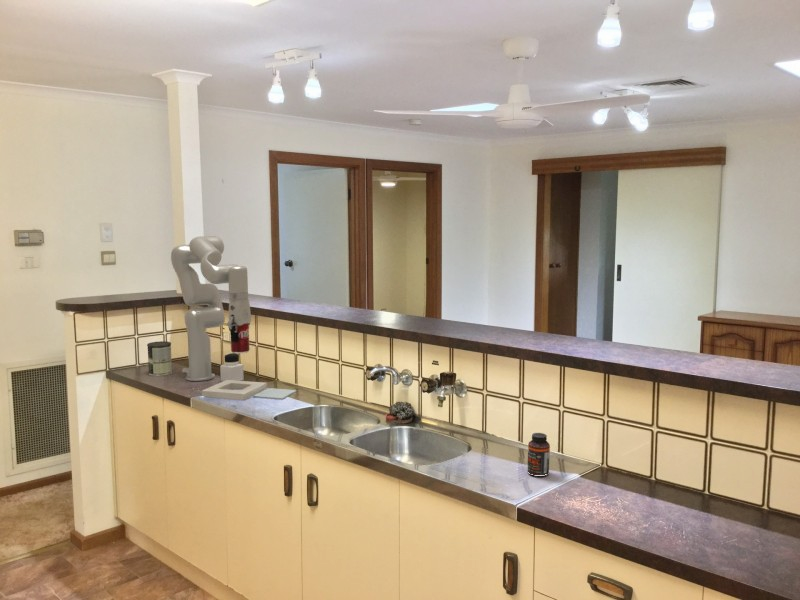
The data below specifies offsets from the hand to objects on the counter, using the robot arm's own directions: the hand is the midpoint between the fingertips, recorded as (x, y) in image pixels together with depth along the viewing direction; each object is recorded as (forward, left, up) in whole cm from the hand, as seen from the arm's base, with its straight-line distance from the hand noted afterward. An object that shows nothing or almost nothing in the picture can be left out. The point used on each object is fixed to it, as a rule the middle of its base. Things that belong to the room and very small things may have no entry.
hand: (240, 339), depth 274 cm
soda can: (0, 0, -5) cm, 5 cm away
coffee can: (-54, +21, -22) cm, 62 cm away
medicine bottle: (-15, +18, -22) cm, 32 cm away
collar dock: (-3, 0, -22) cm, 22 cm away
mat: (+14, +2, -22) cm, 26 cm away
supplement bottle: (+124, -55, -22) cm, 138 cm away
